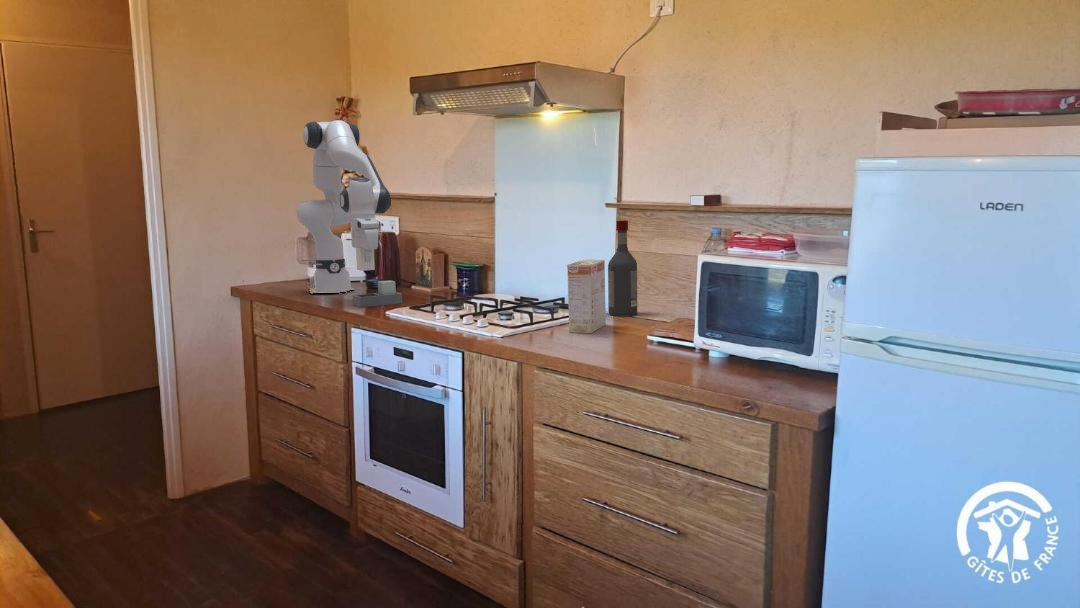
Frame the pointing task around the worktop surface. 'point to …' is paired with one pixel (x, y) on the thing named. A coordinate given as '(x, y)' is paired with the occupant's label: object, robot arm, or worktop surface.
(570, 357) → the worktop surface
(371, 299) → the slot rack
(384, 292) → the sage plug
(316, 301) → the worktop surface
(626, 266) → the liquor
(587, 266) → the coffeecake box
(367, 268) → the ivory plug
